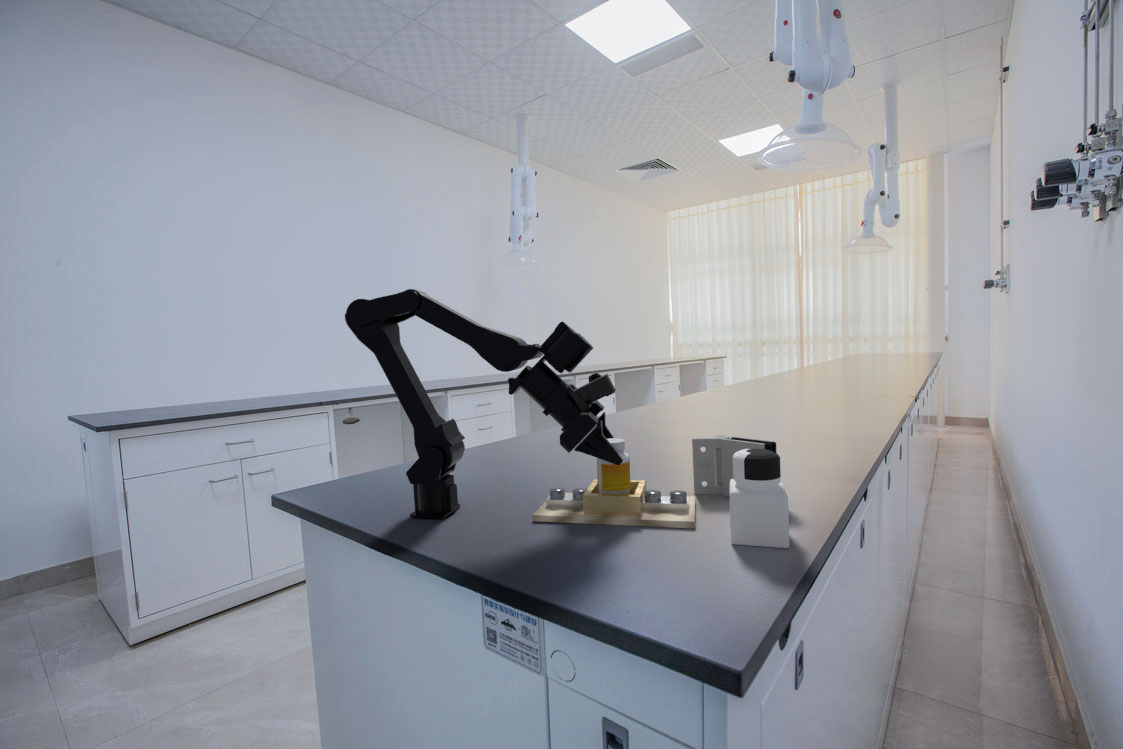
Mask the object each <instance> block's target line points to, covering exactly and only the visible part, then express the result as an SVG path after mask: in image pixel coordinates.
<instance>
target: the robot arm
mask: <svg viewBox="0 0 1123 749" xmlns="http://www.w3.org/2000/svg"><path fill="white" fill-rule="evenodd" d="M413 317H417V318H419V319H421V320H423V321H425V322H426V323H428V324H430V325H431V326H433V327H436V328H437V329H439V330H441V331H443V332H445V333H446V334H448V335H450V336H452V337H454V338H456V339H457V340H459V341H461V342H463V343H465V344H466V345H468V346H469V347H471V348H472V349H473V350H474V351H475V352H476V353H477V354H478V356H479V357H480V358H482V359H483V360H484V361H485V362H486V363H488V364H489V365H491V366H492V367H493V368H494V369H496V370H497V371H499V372H502V373H508V372H512V371H516V370H518V369H519V370H520V369H521V368H523V367H524V366H525V365H526V364H527V363H528V361H530V360H535V359H536V360H537V359H538V361H537V362H535V364H534V365H533V366H530V365H526V366H525V367H524V368H523V369H522V370H521V371H520V372H519V374H517V375H516V377H514V376H513V377H512V376H511V377H509V378H507V382H508V395H509V396H511V395H514V394H517V393H518V392H519V390H523V392H525V394H526V395H528V396H529V397H530V398H531V399H532V400H533V401H534V402H535V403H536V404H537V405H538V406H539V407H541V409H543V411H542V413H543V415H545V416H546V417H548V416H550V417H551V418H552V419H553V420H555V422H556V423H557V424H559V425H560V427H561V429H560V430H561V434H560V435H559V445H560V446H561V447H562V449H564V450H565V451H566V452H567V453H568V454H570V453H571V452H572V451H574V452H577V453H582V454H585V455H588V456H591V457H595V458H596V459H597V458H599V459H602V460H605V461H608V462H610V463H613V464H616V465H620V464H621V463H622V462H623V459H622V458H621V457H620V455H619V454H618V453H617V451H616V450H615V449H614V448H613V446H612V445H611V444H610V442H609V441H608V440H607V439H609V438H615V437H614V436H613V434H612V432H611V431H610V429H609V428H608V426H607V424H606V423H607V422H606V411H604V409H605V406H604V405H603V404H602V403H601V402H600V401H599V400H600V399H603V398H605V397H609V396H611V395H613V394H615V393H616V390H617V389H616V388H615V386H614V384H613V381H612V380H611V377H609V374H608V373H605V374H603V375H602V374H600V373H599V372H595V373H592V374H590V375H588V382H587V383H584V384H583V385H582V386H579V387H577V386H575V385H574V384H573V383H571V384H570V383H567V382H565V381H564V380H563V378H561V377H560V376H559V375H558V374H557V373H556V372H555V371H557V372H558V373H559V374H563V373H564V372H565V371H566V372H567V373H570V374H571V373H572V372H573V371H574V370H575V368H577V367H578V366H579V365H580V363H581V362H583V360H584V359H585V358H586V357H587V356H588V355H589V353H591V351H593V350H594V346H593V345H592V344H591V343H590V342H589V341H588V340H587V339H586V338H585V337H583V336H582V334H580V333H577V331H575V330H574V329H573V328H572V327H570V326H569V325H568V324H567V323H566V322H564V321H560V322H559V323H558V324H557V325H556V327H555V329H554V330H553V332H552V333H551V334H550V335H549V336H548V337H547V339H545V341H543V343H542V344H541V345H540V343H532V344H528V343H527V342H526V340H524V339H522V337H521V338H520V337H519V336H517V335H514V334H513V335H512V334H510V333H506V332H504V331H500V330H497V329H494V328H490V327H486V326H483V325H482V324H480V323H479V322H478V321H475V320H473V319H471V318H469V317H467V316H465V315H464V314H462V313H460V312H459V311H457V310H455V309H453V308H451V307H450V306H448V305H446V304H444V303H442V302H440V301H439V300H436V299H434V298H432V297H431V296H430V295H428V294H427V293H426V292H425V291H421V290H417V289H413V288H408V289H405V290H403V291H400V292H397V293H394V294H388V295H385V296H380V297H375V298H371V299H368V298H366V299H365V298H358V299H354V300H353V301H352V302H350V303H349V305H348V306H347V308H346V311H345V314H344V321H345V323H346V325H347V327H348V328H349V329H350V331H351V332H352V334H354V336H355V337H356V338H357V340H358V341H360V343H361V344H363V346H365V348H367V349H368V350H369V351H371V353H373V355H374V357H375V358H376V360H377V362H378V364H379V366H380V368H381V369H382V371H383V373H384V375H385V376H386V379H387V381H388V382H389V384H390V386H391V388H392V390H393V392H394V394H395V396H396V398H397V399H398V401H399V403H400V405H401V407H402V409H403V410H404V412H405V414H406V416H407V418H408V420H409V423H411V426H412V429H413V442H414V443H413V444H414V449H415V450H416V453H417V460H416V461H414V463H413V464H412V465H411V466H410V468H408V470H407V471H406V473H405V475H406V477H407V479H408V482H409V484H410V485H412V487H413V488H412V489H413V502H414V511H413V512H411V513H409V517H410V518H418V519H419V518H420V519H422V518H423V519H439V520H440V519H441V520H442V519H445V518H446V517H448V516H450V514H453V513H454V512H455V511H456V510H458V509H459V508H460V507H461V504H460V503H459V500H458V498H459V497H458V485H457V484H456V483H455V476H454V474H451V473H452V472H454V471H455V469H456V467H457V463H458V462H459V461H461V459H463V457H464V454H465V453H464V452H465V450H466V447H465V443H464V441H463V440H466V437H465V436H464V435H463V434H462V433H461V432H460V429H459V426H458V424H457V422H456V420H455V419H454V418H452V419H449V420H445V419H444V418H443V417H442V416H441V415H439V413H438V411H437V410H436V408H435V406H434V404H433V402H432V400H431V398H430V397H429V394H428V393H427V391H426V389H425V387H424V385H423V384H422V381H421V380H420V378H419V375H418V374H417V372H416V370H415V368H414V366H413V364H412V363H411V360H410V359H409V357H408V355H407V354H406V352H405V349H404V347H403V346H402V344H401V335H400V334H401V332H400V326H399V323H404V322H405V321H407V320H410V319H411V318H413ZM539 358H540V359H539ZM545 362H547V363H548V364H549V365H550V366H549V365H548V364H547V363H545ZM551 367H552V368H553V369H554V370H555V371H554V370H553V369H552V368H551ZM600 412H602V413H601V415H600ZM598 415H600V416H598Z"/></svg>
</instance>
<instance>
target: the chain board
mask: <svg viewBox="0 0 1123 749" xmlns="http://www.w3.org/2000/svg"><path fill="white" fill-rule="evenodd" d="M565 493H566V494H573V493H572V492H565ZM687 497H688V504H689V505H688V512H679V511H652V510H643V511H642V514H641V516H627V515H602V514H584V511H583V508H570V507H546V500H545V501H544V502H543V503H542V504H541V505H540V507H539V508H538V509H537V510H536V511H535V512H534V513H533V514H532V522H542V523H545V522H547V523H549V522H550V523H561V524H562V523H563V524H565V523H567V524H568V523H569V524H585V525H586V524H588V525H591V524H592V525H611V526H613V525H614V526H631V527H652V528H653V527H655V528H675V529H676V528H677V529H678V528H679V529H695V528H696V496H694V495H693V496H692V495H691V496H689V495H687Z"/></svg>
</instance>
